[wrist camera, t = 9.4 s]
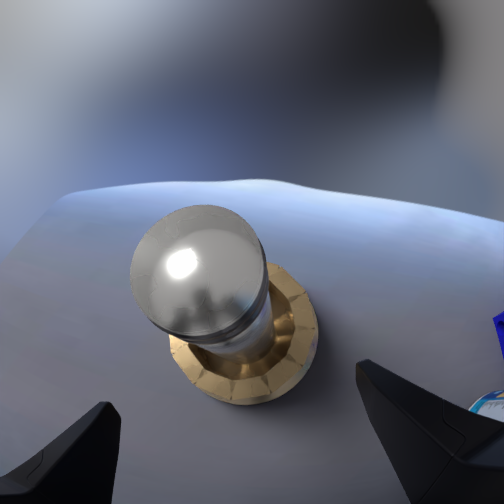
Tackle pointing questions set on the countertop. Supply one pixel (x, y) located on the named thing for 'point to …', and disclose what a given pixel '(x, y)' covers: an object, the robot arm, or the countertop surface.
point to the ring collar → (273, 364)
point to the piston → (206, 282)
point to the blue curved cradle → (500, 329)
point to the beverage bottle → (490, 405)
